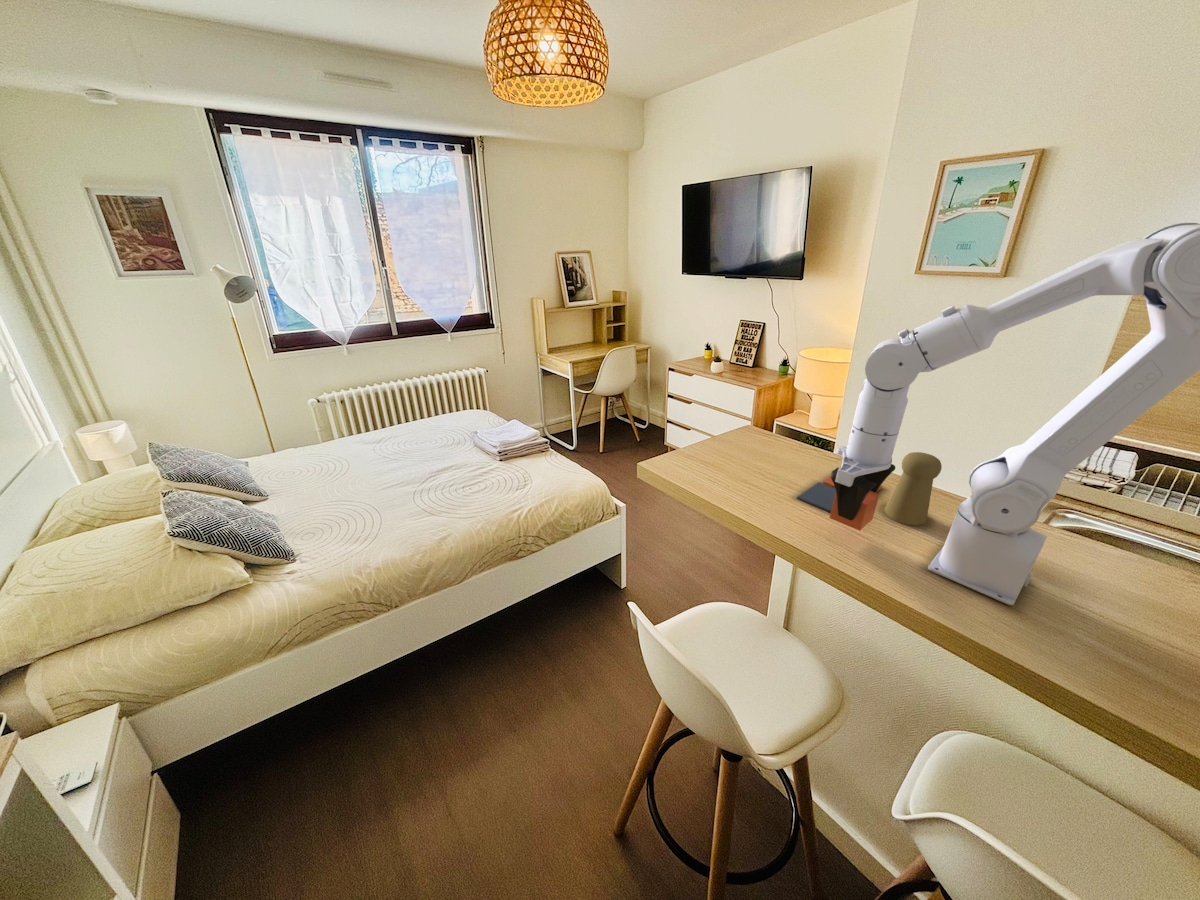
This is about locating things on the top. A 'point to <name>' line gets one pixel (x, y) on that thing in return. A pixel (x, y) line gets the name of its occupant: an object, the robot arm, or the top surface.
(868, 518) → the terracotta block
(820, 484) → the slate mat
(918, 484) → the cork
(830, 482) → the terracotta mat
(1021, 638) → the top surface
